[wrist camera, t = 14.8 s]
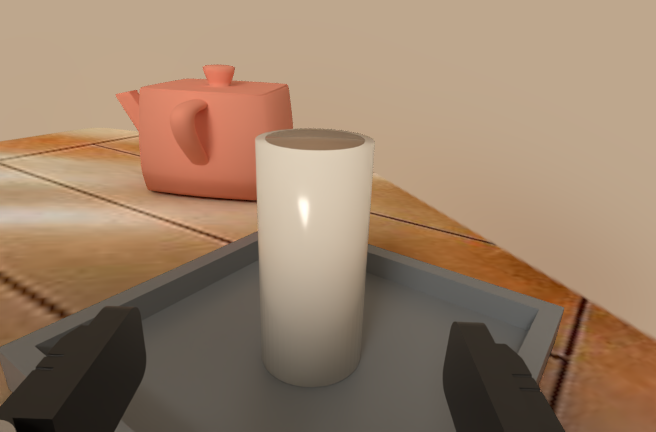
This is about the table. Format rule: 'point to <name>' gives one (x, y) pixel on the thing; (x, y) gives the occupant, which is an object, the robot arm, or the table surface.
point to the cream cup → (312, 251)
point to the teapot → (205, 132)
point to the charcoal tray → (282, 398)
